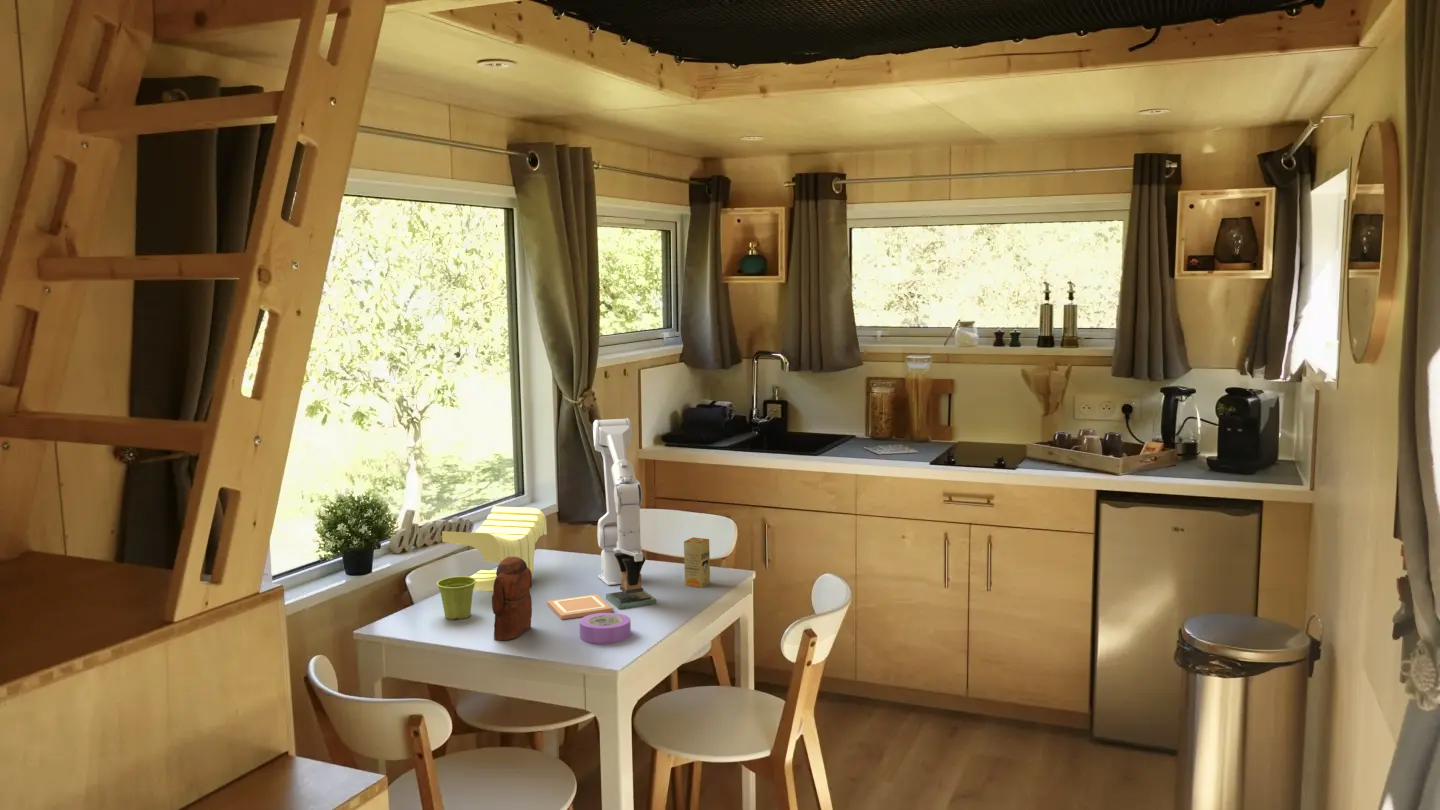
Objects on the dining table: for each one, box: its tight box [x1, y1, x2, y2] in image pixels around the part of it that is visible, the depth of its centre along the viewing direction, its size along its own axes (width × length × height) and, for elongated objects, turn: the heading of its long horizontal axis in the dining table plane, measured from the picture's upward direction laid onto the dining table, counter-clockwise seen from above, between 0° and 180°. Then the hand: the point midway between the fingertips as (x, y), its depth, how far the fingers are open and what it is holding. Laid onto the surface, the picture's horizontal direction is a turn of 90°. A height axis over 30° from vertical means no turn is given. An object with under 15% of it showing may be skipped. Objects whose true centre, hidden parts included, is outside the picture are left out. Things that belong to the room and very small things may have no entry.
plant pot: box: [436, 575, 476, 620], centre depth 262 cm, size 9×9×9 cm
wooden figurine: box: [491, 557, 533, 641], centre depth 248 cm, size 12×6×18 cm, turn 164°
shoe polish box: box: [683, 537, 711, 589], centre depth 286 cm, size 5×5×12 cm
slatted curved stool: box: [441, 506, 548, 592], centre depth 289 cm, size 30×16×18 cm, turn 166°
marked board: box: [546, 593, 614, 621], centre depth 267 cm, size 13×13×1 cm
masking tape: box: [579, 612, 632, 645], centre depth 247 cm, size 12×12×4 cm
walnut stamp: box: [619, 571, 644, 594], centre depth 272 cm, size 5×5×6 cm
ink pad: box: [605, 588, 657, 610], centre depth 272 cm, size 10×10×2 cm
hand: (630, 582), depth 272 cm, fingers closed on walnut stamp, 4 cm apart
